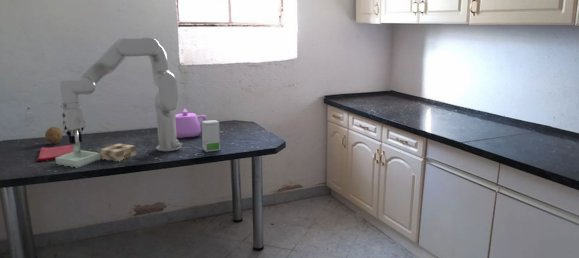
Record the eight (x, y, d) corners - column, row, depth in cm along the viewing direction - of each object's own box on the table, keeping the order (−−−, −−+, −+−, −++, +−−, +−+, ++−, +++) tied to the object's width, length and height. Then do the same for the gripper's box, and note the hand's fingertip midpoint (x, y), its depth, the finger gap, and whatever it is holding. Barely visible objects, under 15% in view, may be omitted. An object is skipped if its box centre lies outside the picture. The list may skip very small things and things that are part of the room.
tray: (100, 159, 218) (99, 153, 217) (77, 168, 205) (76, 161, 204) (80, 156, 223) (79, 150, 222) (56, 164, 211) (55, 157, 210)
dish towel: (36, 163, 214) (35, 158, 213) (40, 151, 235) (39, 146, 234) (75, 159, 221) (74, 154, 220) (75, 147, 242) (74, 142, 241)
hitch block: (136, 154, 225) (135, 145, 224) (118, 161, 214) (117, 152, 213) (118, 152, 230) (117, 143, 228) (100, 158, 219) (99, 149, 218)
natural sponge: (62, 145, 244) (59, 128, 241) (44, 147, 241) (42, 129, 239) (65, 141, 252) (62, 124, 250) (48, 142, 250) (45, 125, 247)
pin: (83, 152, 214) (80, 126, 211) (76, 155, 210) (73, 128, 207) (77, 151, 216) (74, 125, 213) (70, 154, 212) (67, 127, 209)
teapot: (208, 137, 257) (206, 112, 254) (171, 140, 253) (169, 114, 249) (206, 128, 279) (205, 105, 275) (172, 130, 275) (171, 107, 271)
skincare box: (205, 152, 229) (204, 123, 225) (202, 149, 234) (200, 121, 231) (220, 150, 233) (219, 121, 229) (217, 147, 238) (215, 119, 234)
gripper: (62, 109, 199) (67, 147, 203) (90, 103, 213) (95, 139, 218) (50, 108, 201) (55, 146, 206) (79, 102, 216) (84, 137, 221)
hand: (75, 142), depth 212 cm, fingers closed on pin, 3 cm apart
